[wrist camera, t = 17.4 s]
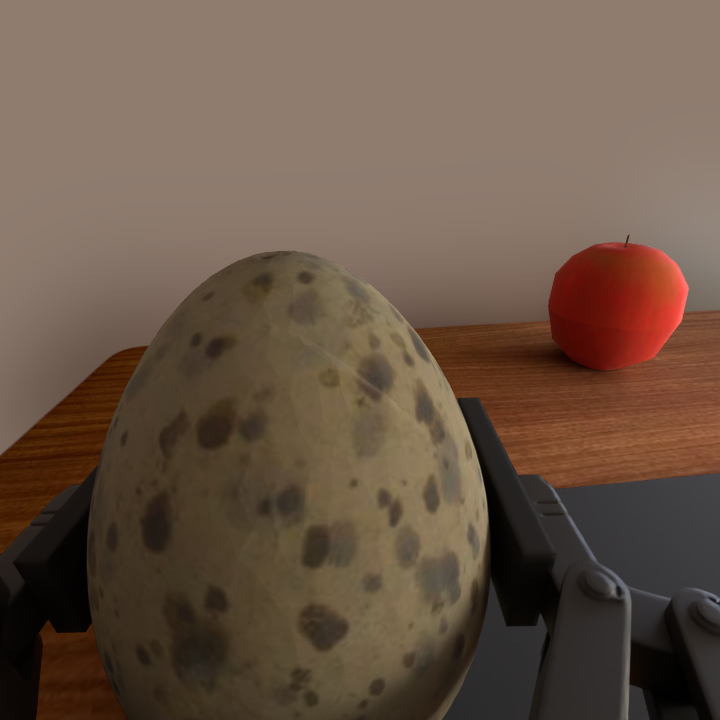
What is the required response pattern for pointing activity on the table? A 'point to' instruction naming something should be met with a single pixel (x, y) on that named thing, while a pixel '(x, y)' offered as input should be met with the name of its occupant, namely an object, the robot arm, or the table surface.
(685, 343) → the table surface
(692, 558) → the mat
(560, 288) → the apple
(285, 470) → the decorative egg
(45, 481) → the table surface
